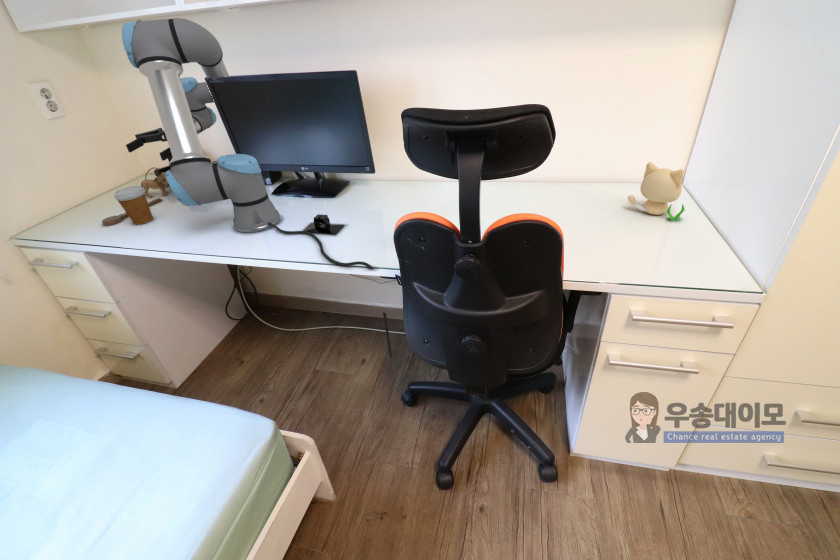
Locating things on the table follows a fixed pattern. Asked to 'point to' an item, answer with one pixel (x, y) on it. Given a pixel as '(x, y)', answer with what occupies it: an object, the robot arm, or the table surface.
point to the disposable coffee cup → (134, 204)
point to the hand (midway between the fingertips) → (144, 152)
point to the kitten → (659, 190)
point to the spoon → (123, 215)
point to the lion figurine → (156, 184)
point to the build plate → (323, 226)
